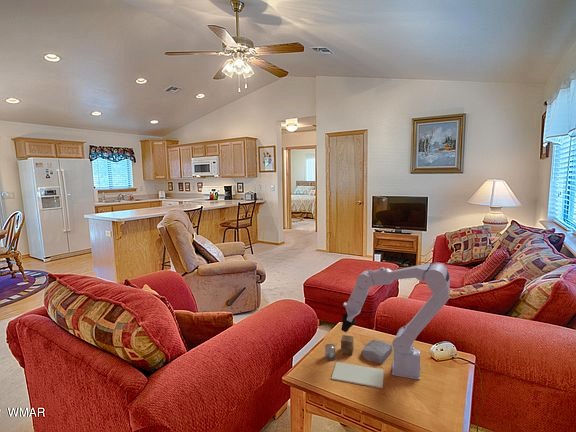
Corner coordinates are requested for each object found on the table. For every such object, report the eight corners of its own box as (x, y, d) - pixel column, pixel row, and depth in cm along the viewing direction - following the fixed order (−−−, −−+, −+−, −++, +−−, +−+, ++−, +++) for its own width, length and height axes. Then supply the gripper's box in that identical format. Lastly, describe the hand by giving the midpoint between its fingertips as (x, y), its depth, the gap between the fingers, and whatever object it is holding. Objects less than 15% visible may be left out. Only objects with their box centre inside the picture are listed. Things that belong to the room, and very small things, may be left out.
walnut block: (353, 349, 135) (353, 336, 134) (352, 355, 131) (351, 342, 130) (342, 348, 136) (342, 334, 136) (341, 353, 132) (340, 340, 131)
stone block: (360, 361, 130) (384, 365, 123) (358, 350, 130) (382, 353, 123) (372, 348, 139) (394, 351, 133) (370, 338, 139) (392, 340, 133)
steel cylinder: (336, 355, 131) (335, 344, 130) (334, 361, 127) (334, 349, 127) (326, 354, 132) (326, 342, 132) (324, 359, 129) (324, 348, 128)
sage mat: (383, 370, 120) (383, 369, 120) (382, 388, 111) (382, 387, 111) (336, 363, 126) (336, 361, 126) (331, 379, 117) (331, 378, 117)
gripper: (350, 286, 133) (339, 311, 138) (344, 303, 120) (332, 331, 125) (366, 293, 131) (355, 319, 136) (362, 311, 118) (349, 339, 123)
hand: (345, 325), depth 130 cm, fingers open, 7 cm apart
